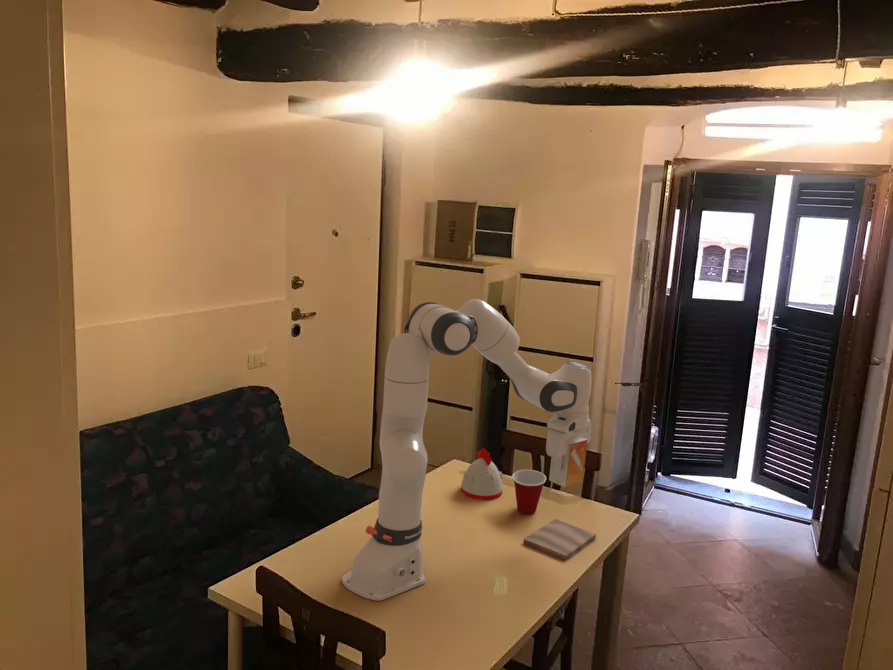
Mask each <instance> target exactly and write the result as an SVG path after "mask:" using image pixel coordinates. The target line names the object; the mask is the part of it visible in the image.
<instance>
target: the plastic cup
mask: <svg viewBox="0 0 893 670" xmlns="http://www.w3.org/2000/svg"><path fill="white" fill-rule="evenodd" d="M511 477H512V481H513V483H514V489H515V490H514V491H515V499H516V508H517V512H519V514H522V515H528V516H529V515H530V516H531V515H534V514H535V513H536V512H537V508H538V505H539V503H540V502H539V501H540V498H541V495H542V491H543V487H544V485H545V483H546V480H547V476H546V474H544V473H542V472H540V471H538V470H534V469H520V470H516V471H514V473H513V474H512V475H511Z"/></svg>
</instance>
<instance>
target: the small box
mask: <svg viewBox="0 0 893 670" xmlns="http://www.w3.org/2000/svg"><path fill="white" fill-rule="evenodd" d="M587 447H588V443H587V439H585V438H579V439H577V440H575V441H573V442H571V443H568V451H567V454H565V455H563V458H562V459H561V460H562V463H563V468H562V469H560V470H558V469H556V468H555V461H554V457H551V456H550V457H551V460H550V468H549V478H548V481H550V482H552V483H554V484H556V485H559V486H561V487H563V488H568V487H571V486H573V485H577V484H580V483H583V481H584V473H585V464H586V457H587Z"/></svg>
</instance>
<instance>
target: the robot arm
mask: <svg viewBox="0 0 893 670" xmlns="http://www.w3.org/2000/svg"><path fill="white" fill-rule="evenodd" d="M407 319H408V320H407V323H406V324H405V326H404V333H399V334H398V335H396V336H394V337H393V338H392V339H391V341H390V343H389V346H388V350H387V355H386V360H385V361H386V362H385V367H384V368H385V370H384V385H383V403H382V412H381V419H380V421H381V422H380V431H379V432H380V433H379V448H380V453H381V462H382V470H381V479H380V480H381V481H380V486H379V491H378V511H377V513H378V515H377V518H376V521H375V523H374V526H371V525H368V526H366V528H365V533H366V534H367V535H370V536H371V537H370V538H369V539H368V541H367V542H366V543H365V545H364V546H363V547H362V548H361V549H360V550H359V552H358V553H357V554H356V555H355V557H354V558H353V560H352V565H351V570H349V571H348V572H347V573H345V574H344V575H343V576H342V577H341V583H342V584H343V586H344V587H345V588H346V589H347V590H349V591H350V592H352V593H354V594H356V595H357V596H360V597H362V598H365V599H368V600H372V601H377V602H378V601H379V602H381V601H384V600H386V599H389V598H391V597H394V596H396V595H399V594H401V593H404V592H406V591H408V590H409V591H410V590H412V589H414V588H416V587H419V586H422V585H424V584H426V577H425V575H424V572H425V569H424V562H423V549H422V544H421V536H422V533H423V532H422V531H423V524H422V523H423V521H422V519H421V517H422V503H423V501H422V500H423V491H424V485H425V481H426V475H427V468H428V452H427V450H426V447H425V444H424V439H423V431H424V430H423V429H424V425H425V424H424V423H425V418H426V412H427V410H428V396H429V385H430V384H429V381H430V363H431V360H432V357H433V356H434V354H435V353H436V352H438V353H440V354H441V355H445V356H457V355H461V354H462V353H464V352H465V351H467V349H469V348H470V346H471V345H472V347H473V348H474V349H475V350H476V351H477V352H478V353H479V354H480V355H481V356H483V357H484V358H485V359H487V360H488V361H489V362H491V363H494V364H495V365H497V366H498V367H499V368H500V370H501V371H502V372H504V373H505V375H506V376H507V377H508V378H509V380H510V382H511V384H512V388H513V390H514V392H515V394H516V396H517V397H518V398H519V399H521V400H524V401H526V402H529V403H530V404H532V405H534V406H536V407H538V408H540V409H541V410H543V411H544V412H545V411H546V412H549V413H554V414H553V415H552V416H551V417H550V418H549V419H548V420H547V424H546V427H547V428H548V431H547V434H546V443H545V444H546V445H545V452H546V455H547V456H549V457H554V461H555V468H556V469H558V470H560V469H562V468H563V463H562V460H561V459H562V458H563V455H565V454H567V451H568V443H571V442H573V441H575V440H577V439H579V438H585V439H587V444H590V442H591V440H592V420H591V419H590V414H589V413H590V412H589V411H590V407H589V402H590V398H591V396H592V395H591V394H592V383H593V382H592V381H593V380H592V371H591V368H590V367H589V366H587V365H584V364H582V363H579V362H575V361H566V362H564V364H563V365H562V366H561V367H560V368H558V369H557V370H556V371H554V372H552V373H548V372H546V371H544V370H542V369H541V368H539V367H537V366H534V365H531V364H528V363H527V362H526V361H525V360H524V359H523V358H522V357H521V356H520V355H519V353H518V350H519V347H520V342H521V339H520V336H519V334H518V332H517V330H516V329H515V328H514V327H513V325H512V324H511V323H510V321H508V319H506V318H505V317H504V316H503V315H502V314H501V313H500V312H499V311H498V310H497V309H495V308H494V307H493V306H491V305H490V304H488V303H487V302H486V301H485V300H482V299H479V298H473V299H469V300H467V301H466V302H465V303H463V304H462V305H461V306H460V307H459V309H457V310H454V309H452V308H451V307H448V306H447V305H442V304H439V303H437V302H432V301H431V302H429V301H428V302H422V303H419V304H417V305H416V306H415V307H414V308H413V309H412V311H411V313H410V315H409V317H408V318H407Z"/></svg>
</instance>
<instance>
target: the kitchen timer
mask: <svg viewBox="0 0 893 670" xmlns="http://www.w3.org/2000/svg"><path fill="white" fill-rule="evenodd" d="M476 457H477V459H475V460H473V462H472V463H471V464H469V466H468V467H467V468H466V471H465V472H463V476H462V477H463V478H462V480H461V485H460V492H461V493H462V495H464V497H467V498H469V499H472V500H476V501H493V500H496V499H499V498H500V497H502V495H503V481H502V479H503V473H502V471H500V470H499V469H498V467H497V465H496V464H495V463H494V462H493V461H492V460H493V457H491V452H488V450H486V449H485V448H482V449H481V450H479V451H478V452H476Z"/></svg>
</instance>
